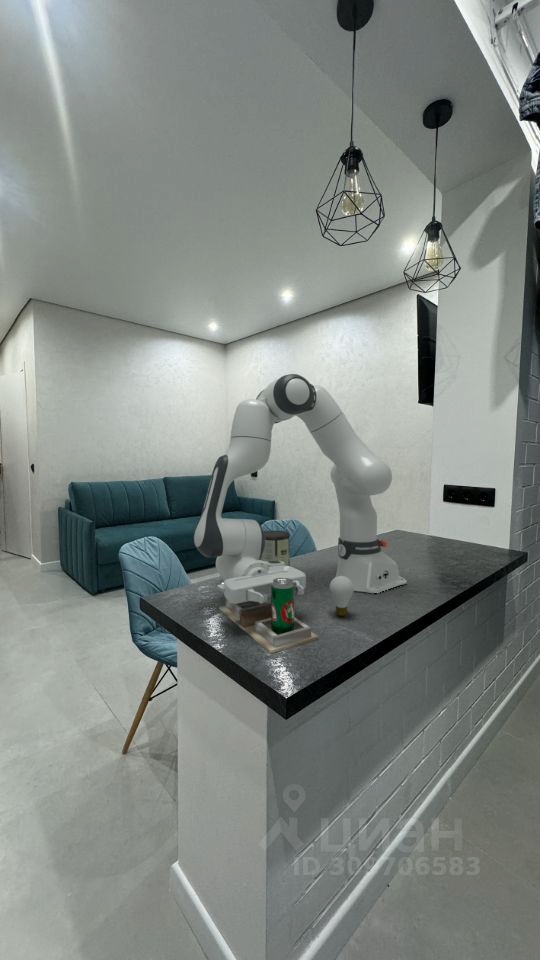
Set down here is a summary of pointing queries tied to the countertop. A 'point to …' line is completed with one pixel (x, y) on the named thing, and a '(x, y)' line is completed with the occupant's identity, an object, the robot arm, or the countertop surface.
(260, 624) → the socket board
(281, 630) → the soda can
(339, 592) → the light bulb
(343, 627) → the countertop surface
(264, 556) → the coffee can
